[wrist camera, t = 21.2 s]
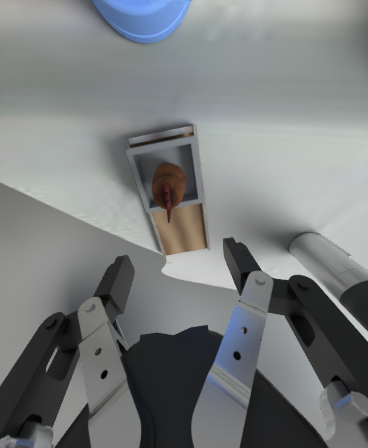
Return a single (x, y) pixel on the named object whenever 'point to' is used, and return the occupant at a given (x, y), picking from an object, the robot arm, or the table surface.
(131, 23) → the water jug
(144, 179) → the shallow grey tray
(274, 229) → the table surface
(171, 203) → the wooden figurine
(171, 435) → the robot arm
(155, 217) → the rail board
